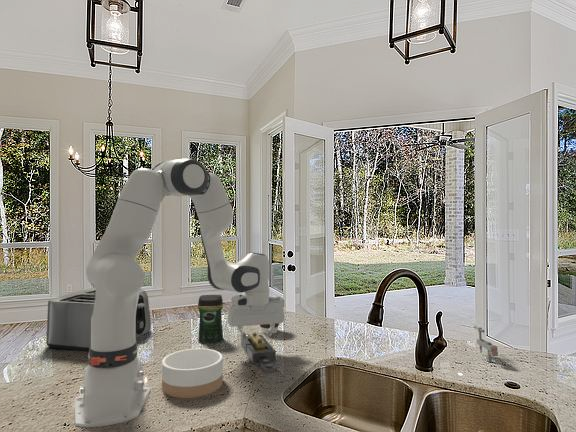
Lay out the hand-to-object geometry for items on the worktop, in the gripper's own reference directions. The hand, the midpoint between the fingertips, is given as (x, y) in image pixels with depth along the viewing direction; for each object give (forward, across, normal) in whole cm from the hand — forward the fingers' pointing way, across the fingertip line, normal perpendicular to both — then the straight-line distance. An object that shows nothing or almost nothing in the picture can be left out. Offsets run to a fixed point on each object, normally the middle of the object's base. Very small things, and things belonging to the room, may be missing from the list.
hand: (256, 336), depth 138 cm
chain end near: (+6, 0, +5) cm, 8 cm away
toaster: (+8, +55, -34) cm, 65 cm away
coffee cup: (+6, -12, -23) cm, 27 cm away
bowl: (+7, +24, +19) cm, 31 cm away
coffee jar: (+7, +14, -19) cm, 24 cm away
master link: (+6, 0, 0) cm, 6 cm away
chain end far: (+6, 0, -5) cm, 8 cm away
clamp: (+6, -76, +28) cm, 81 cm away
